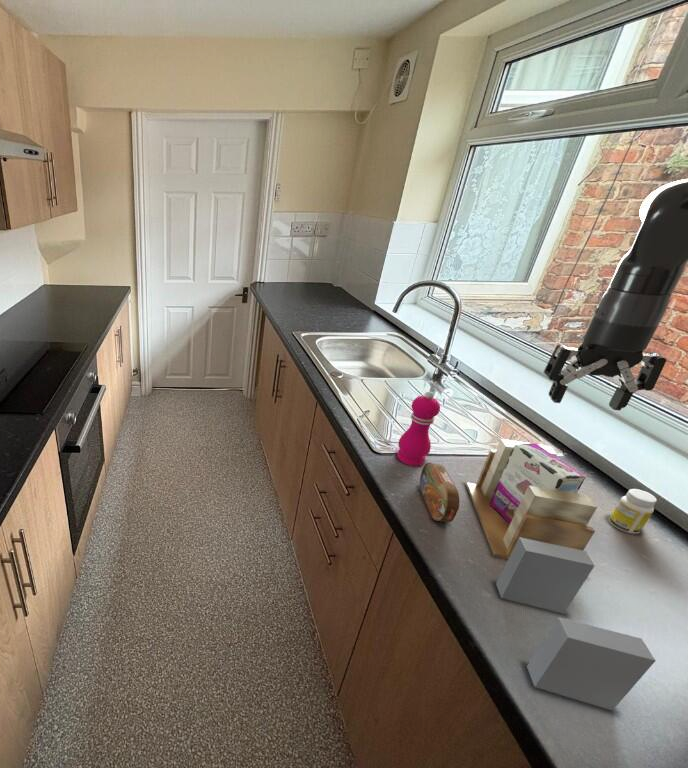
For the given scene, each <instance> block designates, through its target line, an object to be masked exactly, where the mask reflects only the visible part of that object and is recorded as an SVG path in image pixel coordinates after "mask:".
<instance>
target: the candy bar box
mask: <svg viewBox="0 0 688 768" xmlns="http://www.w3.org/2000/svg"><path fill="white" fill-rule="evenodd" d="M530 443H531V442H530ZM539 445H540V444H539ZM539 445H538V443H531V444H515V445H514V447H513V450H512V452H511V455H510V457H509V459H508V462H507V464H506V466H505V469H504V471H503V473H502V476H501V478H500V480H499V483H498V485H497V487H496V490H495V492H494V494H493V496H492V499H491V501H490V504H489V505H490V506H491V507H492V508H493V509H494V510H495V511H496V512H497V513H499V514H500V515H501V516H502V517H503V518H504V519H505V520H506V521H507V522H508V523H509V524H510V523H511V521H512V519H513V517H514V515H515V513H516V511H517V509H518V507H519V505H520V502H521V500H522V498H523V496H524V494H525V492H526V490H527V488H528V486H529V485H531V486H536V487H542V488H547V489H553V490H558V491H564V492H570V493H575V494H578V492H579V490H581V489H580V488H581V487H582V485H583V483H584V481H585V480H586V478H587V477H586V476H585V475H584V474H582V473H581V472H579V471H578V470H577V469H575V468H574V467H572V466H570V465H569V464H567V463H566V462H565V461H563V460H561V459H560V458H558V457H557V456H556V457H555V456H554V455H552V454H551V453H549V452H548V451H547V450H545V449H544V448H542V447H541V446H539Z"/></svg>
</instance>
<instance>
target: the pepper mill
mask: <svg viewBox="0 0 688 768" xmlns="http://www.w3.org/2000/svg"><path fill="white" fill-rule="evenodd" d="M411 410H412V411H411V415H410V419H411V424H410V426H409V427H408V429H406V431H404V433H403V434H402V435H401V436H400V438H399V439H398V443H397V444H398V451H397V455H396V457H397V459H398V460H399V461H400V462H402V463H403V464H404V465H405V464H406V465H408V466H412V467H420V466H423V465H425V461H426V456H427V455H428V454H430V452H431V447H432V446H431V444H432V443H431V439H430V434H429V429H430V426H431V425H433V424H434V422H435V417H436V416H437V415H439V413H440V411H441V404H440V402H439V401H438V400H437V399H436V398H434V393H433V392H432V391H426V392H425V394H424V395H420V396H416V398H414V399H413V400H412V403H411Z"/></svg>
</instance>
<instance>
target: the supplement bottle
mask: <svg viewBox="0 0 688 768" xmlns="http://www.w3.org/2000/svg"><path fill="white" fill-rule="evenodd" d="M657 501H658V499H657V497H656V496H654V495H653V494H651V493H650V492H648V491H645V490H643V489H639V488H630V489H629V490H628V491H627V493H626V494H625V495H624V496H622V497H620V499H619V501H618V503H617V504H616V506H615V508H614V509H613V511H612V513H611V514H610V516H609V517H608V521H609V523H610V524H611V525H612V526H613V527H614V528H616V529H618V530H620V531H622V532H625V533H628V534H640V533H641V532H642V530H643V529H644V527H645V525H646V524H647V522H648V521H649V519H650V518H651V516H652V515H653V513H654V511H655V507H654V506H655V505H656V503H657Z"/></svg>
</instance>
